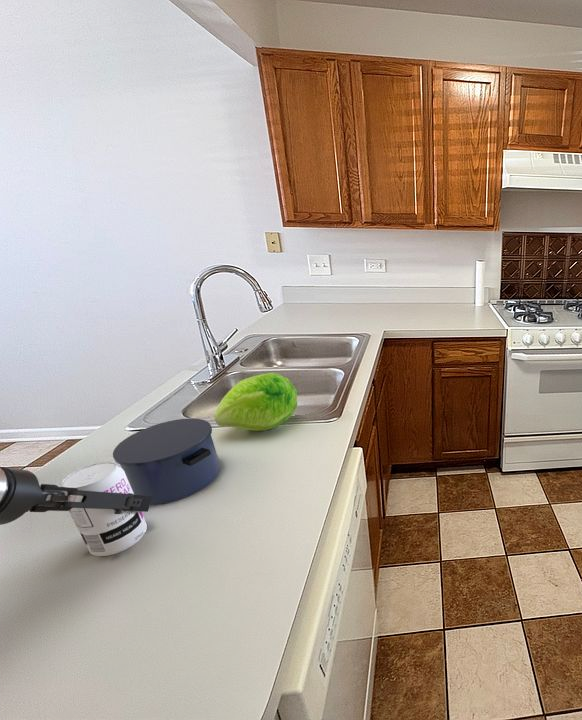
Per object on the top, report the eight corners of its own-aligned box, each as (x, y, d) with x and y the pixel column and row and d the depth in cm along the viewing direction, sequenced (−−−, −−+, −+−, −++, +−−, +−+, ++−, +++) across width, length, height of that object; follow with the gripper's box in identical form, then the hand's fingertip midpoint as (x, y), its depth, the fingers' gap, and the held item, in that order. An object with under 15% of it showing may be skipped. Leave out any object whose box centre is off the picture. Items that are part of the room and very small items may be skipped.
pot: (107, 493, 85) (88, 451, 81) (185, 449, 100) (173, 412, 96) (171, 517, 78) (153, 473, 74) (245, 466, 93) (234, 427, 89)
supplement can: (101, 531, 75) (70, 466, 69) (154, 518, 78) (128, 455, 72) (81, 565, 68) (45, 496, 63) (140, 549, 71) (110, 482, 66)
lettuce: (226, 431, 111) (205, 382, 106) (300, 406, 121) (284, 360, 116) (226, 455, 98) (202, 401, 93) (310, 424, 107) (292, 373, 102)
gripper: (-110, 523, 52) (62, 524, 73) (45, 526, 51) (173, 526, 72) (-78, 465, 55) (79, 481, 76) (69, 467, 54) (186, 483, 75)
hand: (125, 503), depth 74 cm, fingers closed on supplement can, 8 cm apart
